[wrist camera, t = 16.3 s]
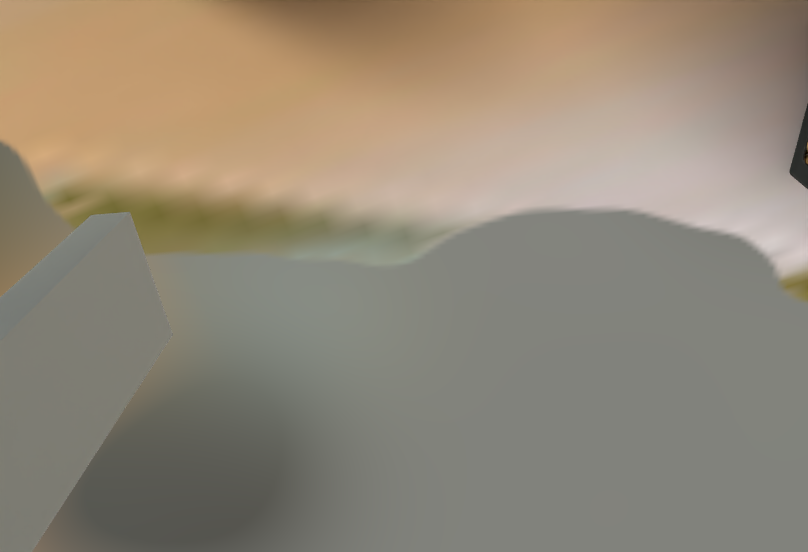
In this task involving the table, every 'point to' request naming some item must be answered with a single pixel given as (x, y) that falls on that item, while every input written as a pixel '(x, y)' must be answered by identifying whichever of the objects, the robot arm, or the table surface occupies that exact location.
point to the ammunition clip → (801, 155)
